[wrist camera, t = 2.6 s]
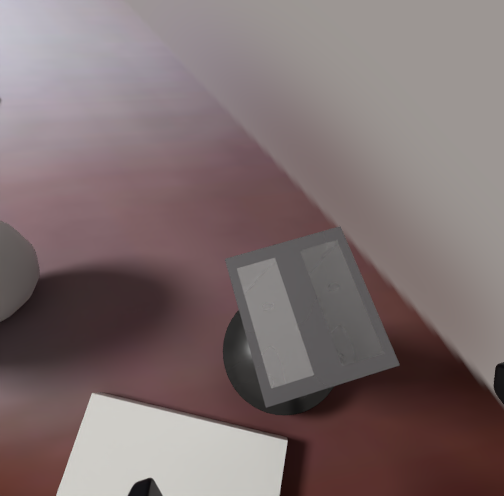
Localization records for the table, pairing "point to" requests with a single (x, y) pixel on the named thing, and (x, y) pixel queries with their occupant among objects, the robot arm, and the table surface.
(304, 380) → the grey channel block
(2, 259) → the donut
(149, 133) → the table surface
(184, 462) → the ceramic tile
